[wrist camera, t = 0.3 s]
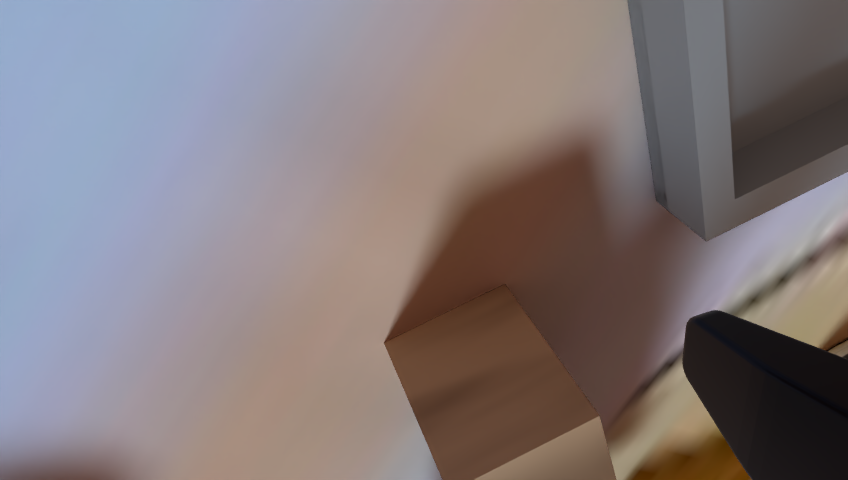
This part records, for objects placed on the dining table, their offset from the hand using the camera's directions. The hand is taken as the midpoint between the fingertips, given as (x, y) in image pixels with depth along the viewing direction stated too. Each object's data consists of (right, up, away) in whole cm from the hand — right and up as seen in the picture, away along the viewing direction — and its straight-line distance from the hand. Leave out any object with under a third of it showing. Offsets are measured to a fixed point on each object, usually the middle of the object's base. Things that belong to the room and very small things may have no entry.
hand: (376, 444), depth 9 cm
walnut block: (+2, -2, +19) cm, 19 cm away
